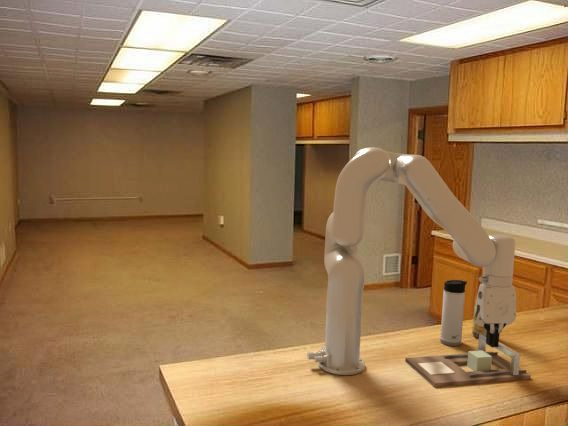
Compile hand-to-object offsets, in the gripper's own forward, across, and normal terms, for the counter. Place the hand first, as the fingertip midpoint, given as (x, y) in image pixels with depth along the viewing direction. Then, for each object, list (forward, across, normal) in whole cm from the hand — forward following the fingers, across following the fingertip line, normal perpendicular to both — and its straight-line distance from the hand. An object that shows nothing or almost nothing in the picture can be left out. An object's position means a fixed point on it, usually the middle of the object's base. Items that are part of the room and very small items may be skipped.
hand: (492, 345), depth 140 cm
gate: (+5, +2, 0) cm, 6 cm away
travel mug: (+7, -1, +19) cm, 20 cm away
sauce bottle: (+7, +12, +22) cm, 26 cm away
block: (+7, -4, 0) cm, 7 cm away
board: (+6, -8, 0) cm, 10 cm away
